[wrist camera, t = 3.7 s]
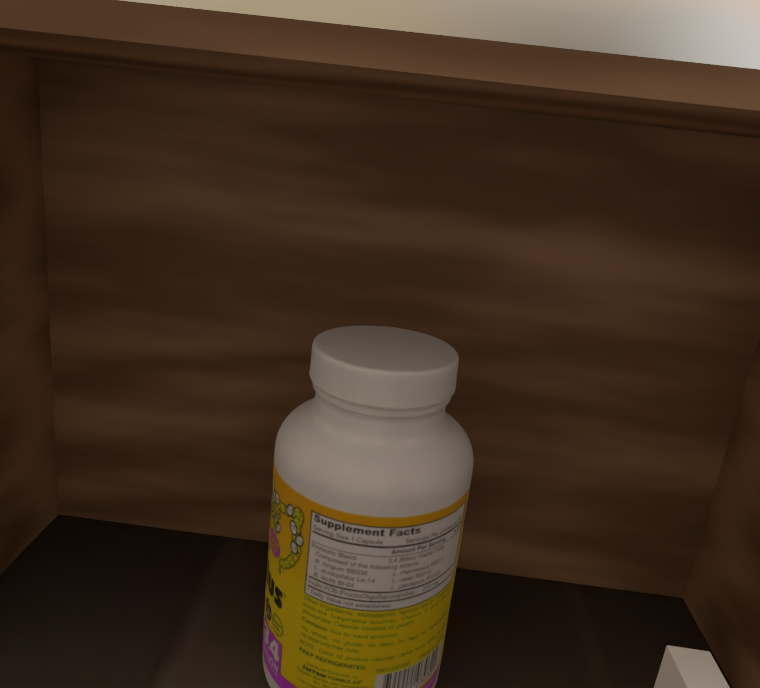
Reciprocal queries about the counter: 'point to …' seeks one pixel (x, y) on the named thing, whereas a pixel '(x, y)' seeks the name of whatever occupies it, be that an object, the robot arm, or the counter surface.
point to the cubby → (385, 282)
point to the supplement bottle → (366, 515)
